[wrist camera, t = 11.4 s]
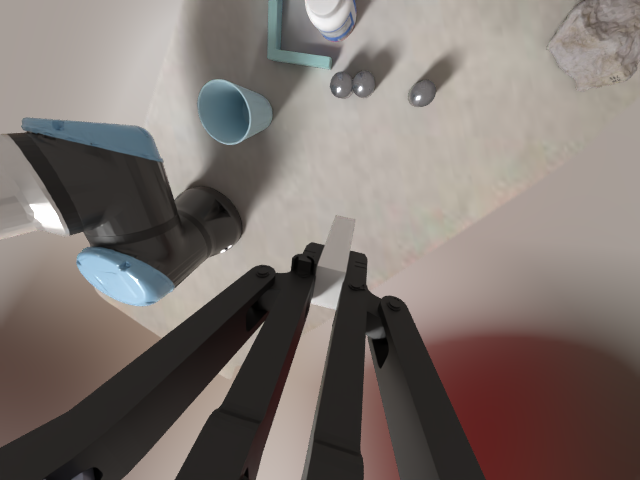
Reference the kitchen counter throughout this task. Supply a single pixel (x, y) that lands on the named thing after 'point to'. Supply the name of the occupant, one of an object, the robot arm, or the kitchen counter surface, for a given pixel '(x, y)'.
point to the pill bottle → (332, 17)
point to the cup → (232, 111)
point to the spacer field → (365, 86)
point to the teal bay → (275, 42)
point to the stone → (599, 42)
